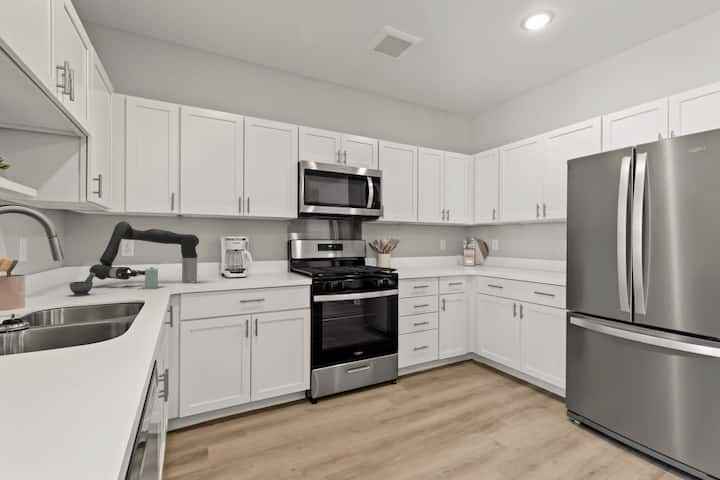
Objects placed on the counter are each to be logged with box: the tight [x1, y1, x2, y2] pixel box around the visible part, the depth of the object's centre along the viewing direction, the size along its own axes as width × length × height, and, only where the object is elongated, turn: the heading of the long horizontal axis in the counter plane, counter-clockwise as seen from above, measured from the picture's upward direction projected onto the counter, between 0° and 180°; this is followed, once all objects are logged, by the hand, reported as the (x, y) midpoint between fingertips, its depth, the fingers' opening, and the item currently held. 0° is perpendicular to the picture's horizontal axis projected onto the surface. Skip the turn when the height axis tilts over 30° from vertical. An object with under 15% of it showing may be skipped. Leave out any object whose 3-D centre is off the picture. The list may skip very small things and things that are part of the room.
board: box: [138, 285, 167, 290], centre depth 206 cm, size 13×11×1 cm
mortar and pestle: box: [69, 272, 96, 297], centre depth 183 cm, size 11×9×12 cm
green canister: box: [144, 266, 159, 288], centre depth 206 cm, size 6×6×12 cm
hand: (142, 274), depth 207 cm, fingers open, 8 cm apart
